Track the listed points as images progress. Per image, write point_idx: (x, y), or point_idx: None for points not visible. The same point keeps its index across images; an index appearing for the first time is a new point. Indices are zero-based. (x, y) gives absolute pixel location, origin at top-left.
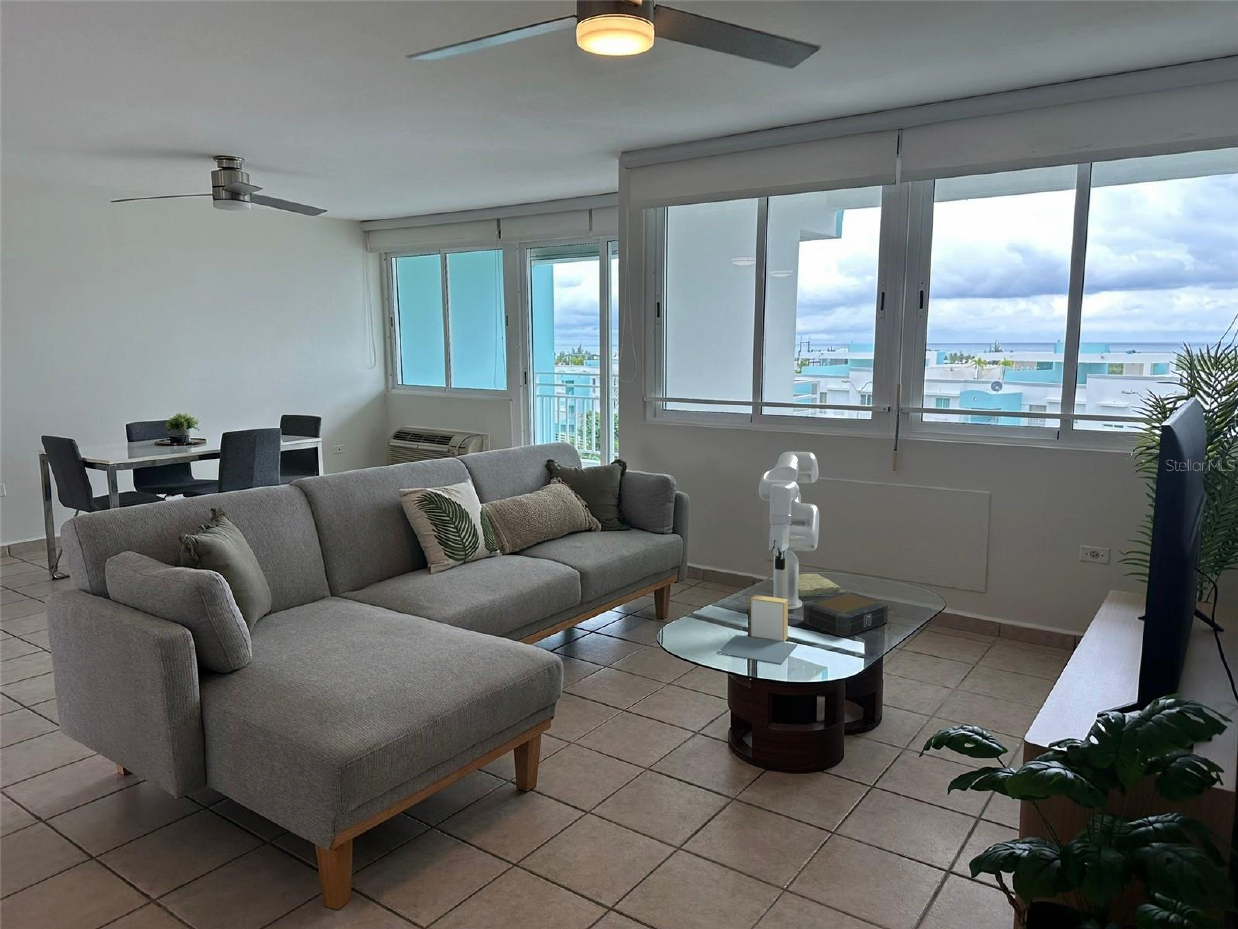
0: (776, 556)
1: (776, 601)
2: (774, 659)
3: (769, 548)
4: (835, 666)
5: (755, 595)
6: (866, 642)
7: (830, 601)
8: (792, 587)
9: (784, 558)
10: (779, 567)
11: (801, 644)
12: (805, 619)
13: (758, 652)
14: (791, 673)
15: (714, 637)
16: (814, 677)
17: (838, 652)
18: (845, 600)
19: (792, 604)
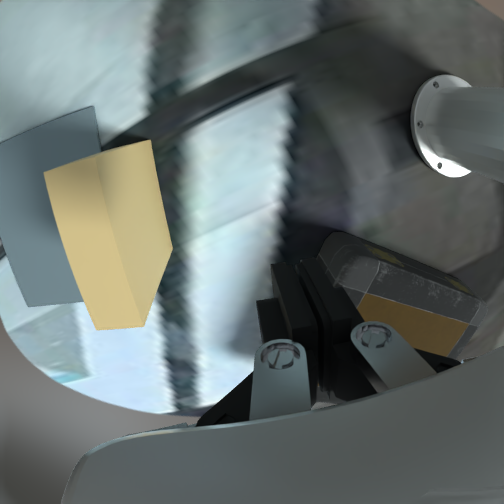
0: (224, 408)
1: (85, 297)
2: (30, 288)
3: (67, 488)
4: (103, 386)
5: (89, 165)
6: None
7: (399, 320)
8: (477, 167)
9: (332, 398)
10: (259, 323)
11: (154, 299)
12: (327, 247)
13: (31, 238)
14: (20, 334)
15: (53, 67)
16: (41, 368)
17: (169, 375)
18: (417, 345)
19: (439, 156)
